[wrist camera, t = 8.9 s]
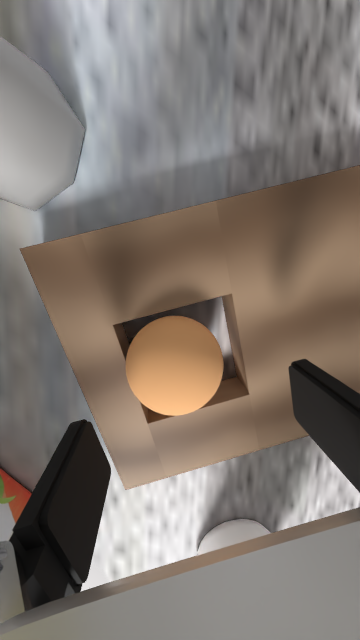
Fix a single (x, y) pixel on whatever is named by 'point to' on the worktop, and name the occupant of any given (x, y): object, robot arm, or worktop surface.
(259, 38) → the worktop surface
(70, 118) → the flask
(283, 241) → the board
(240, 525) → the alcohol
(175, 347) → the orange ball
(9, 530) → the cracker box
